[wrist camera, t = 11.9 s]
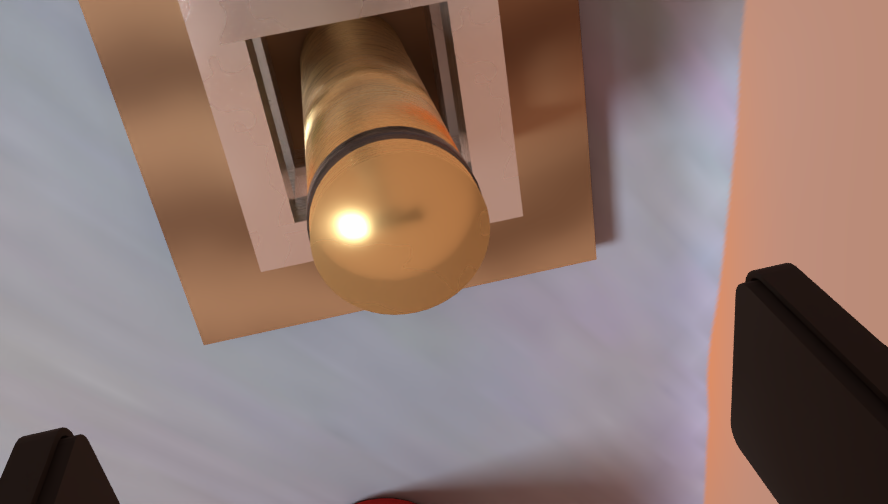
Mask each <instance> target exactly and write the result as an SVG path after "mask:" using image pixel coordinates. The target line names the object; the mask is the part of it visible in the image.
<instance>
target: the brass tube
mask: <svg viewBox="0 0 888 504" xmlns="http://www.w3.org/2000/svg"><path fill="white" fill-rule="evenodd" d="M300 71H301V89H302V107H303V124H304V142H305V160H306V177H307V203H306V215H307V231H308V236H309V241H310V247H311V252H312V257H313V260H314V263H315V266H316V268H317V270H318V272H319V274H320V276H321V277H322V279H323V280H324V281H325V283H326V284H327V285H328V286H329V287H330V289H331V290H332V291H333V292H334V293H336V294H337V295H338V296H339V297H341V298H342V299H343V300H345V301H347V302H348V303H350V304H352V305H354V306H356V307H359V308H361V309H364V310H367V311H370V312H375V313H380V314H391V315H398V314H409V313H415V312H419V311H423V310H426V309H429V308H432V307H434V306H437V305H439V304H441V303H442V302H444V301H446V300H448V299H449V298H451V297H452V296H454V295H455V294H457V293H458V292H459V291H460V290H461V289H462V288H463V287H465V286H466V284H467V283H468V282H469V281H470V280H471V279H472V278H473V276H474V275H475V273H476V272H477V270H478V269H479V267H480V265H481V263H482V261H483V259H484V257H485V254H486V251H487V248H488V243H489V237H490V219H489V214H488V209H487V206H486V204H485V201H484V198H483V196H482V193H481V190H480V188H479V185H478V182H477V180H476V179H475V177H474V175H473V173H472V171H471V169H470V167H469V166H468V164H467V162H466V161H465V159H464V158H463V157H462V155H461V154H460V153H459V151H458V149H457V147H456V145H455V143H454V141H453V140H452V138H451V136H450V134H449V132H448V130H447V128H446V126H445V124H444V122H443V121H442V119H441V117H440V115H439V113H438V111H437V109H436V107H435V105H434V103H433V102H432V100H431V98H430V96H429V94H428V92H427V90H426V88H425V86H424V84H423V83H422V81H421V79H420V77H419V75H418V73H417V71H416V69H415V67H414V66H413V64H412V62H411V60H410V58H409V56H408V54H407V52H406V50H405V48H404V47H403V45H402V43H401V41H400V39H399V37H398V35H397V34H396V32H395V31H394V29H393V28H392V27H391V26H390V25H389V24H388V23H387V22H386V21H384V20H383V19H382V18H380V17H378V16H377V15H373V16H367V17H362V18H357V19H352V20H347V21H341V22H336V23H331V24H326V25H321V26H315V27H312V28H311V30H310V31H309V32H308V34H307V36H306V38H305V40H304V42H303V45H302V49H301V53H300Z"/></svg>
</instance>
